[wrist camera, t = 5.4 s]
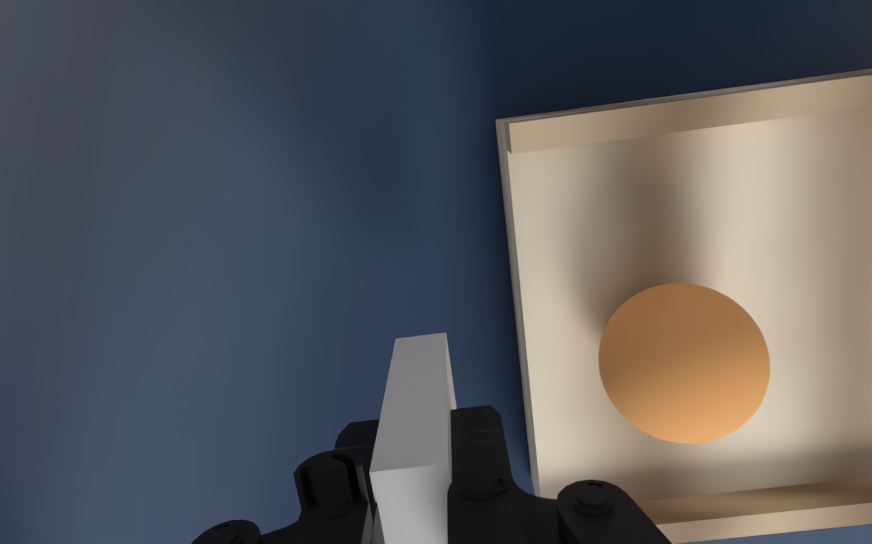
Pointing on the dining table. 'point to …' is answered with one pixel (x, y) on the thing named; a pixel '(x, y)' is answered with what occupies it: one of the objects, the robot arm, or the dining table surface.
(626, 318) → the ball
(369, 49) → the dining table surface
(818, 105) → the deck
